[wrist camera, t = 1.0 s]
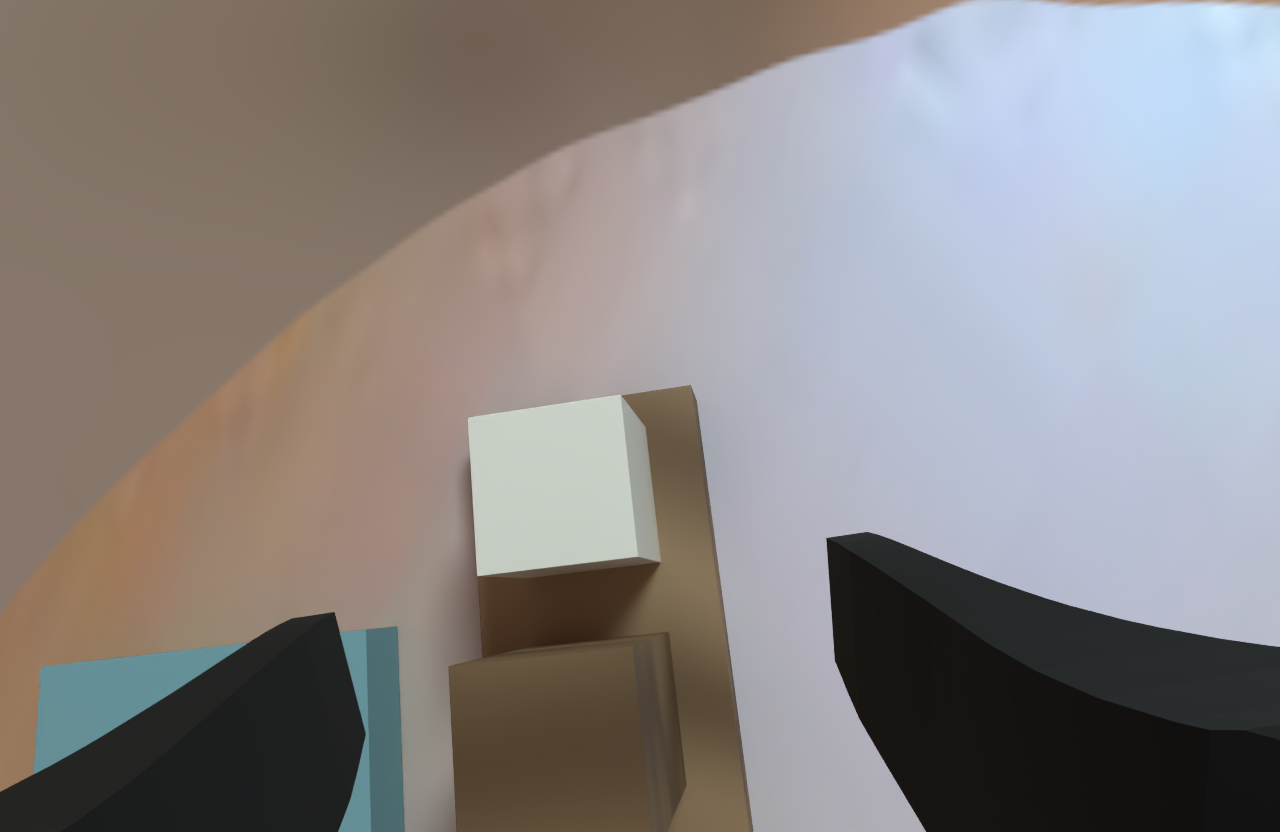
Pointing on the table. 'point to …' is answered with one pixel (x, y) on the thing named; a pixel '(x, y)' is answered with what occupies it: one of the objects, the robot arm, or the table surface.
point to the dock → (123, 687)
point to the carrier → (609, 678)
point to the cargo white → (562, 490)
